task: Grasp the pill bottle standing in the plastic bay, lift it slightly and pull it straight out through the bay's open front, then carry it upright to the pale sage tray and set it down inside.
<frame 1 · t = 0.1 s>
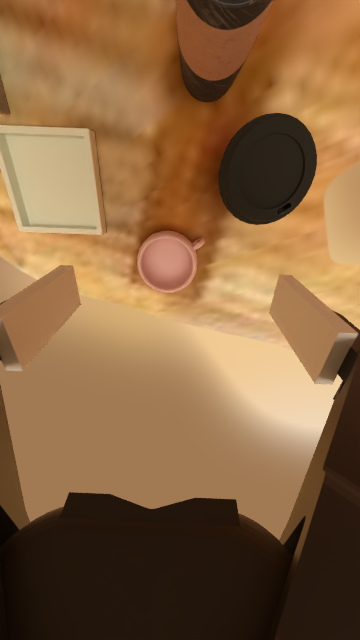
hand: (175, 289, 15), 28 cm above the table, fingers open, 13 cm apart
mug: (173, 253, 42), on the table
travel mug: (208, 66, 30), on the table
tray: (58, 185, 37), on the table
coffee cup: (240, 177, 36), on the table
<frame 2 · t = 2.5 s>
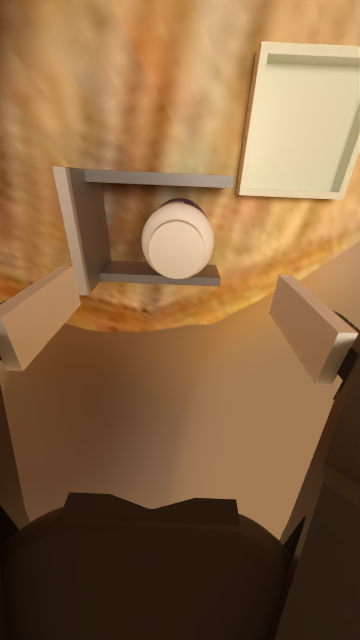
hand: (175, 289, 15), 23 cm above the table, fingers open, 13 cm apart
pill bottle: (179, 227, 35), on the table
tray: (298, 134, 29), on the table
bay: (159, 226, 35), on the table
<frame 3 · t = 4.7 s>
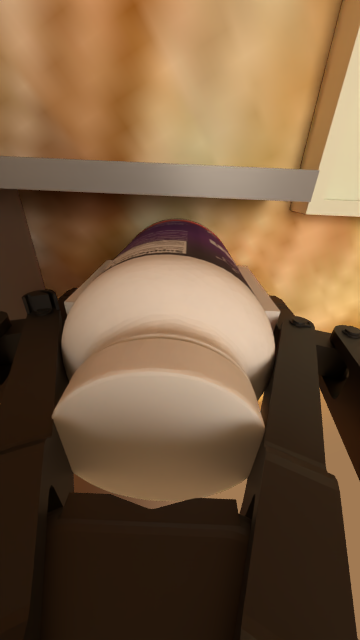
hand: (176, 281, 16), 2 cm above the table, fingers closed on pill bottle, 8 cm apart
pill bottle: (177, 270, 19), on the table, touching gripper
bay: (138, 269, 18), on the table
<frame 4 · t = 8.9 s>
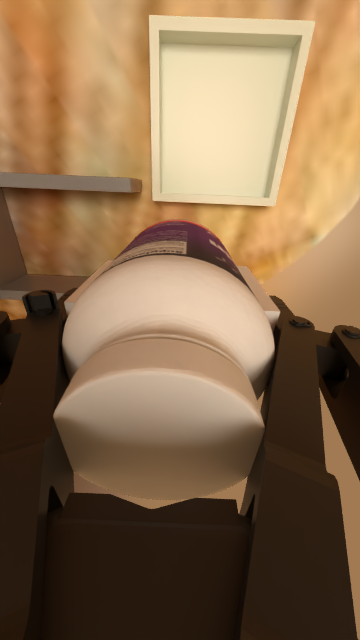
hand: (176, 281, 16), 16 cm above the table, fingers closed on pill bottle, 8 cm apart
pill bottle: (177, 270, 19), point 13 cm above the table, touching gripper
tray: (218, 130, 24), on the table
bay: (74, 236, 30), on the table
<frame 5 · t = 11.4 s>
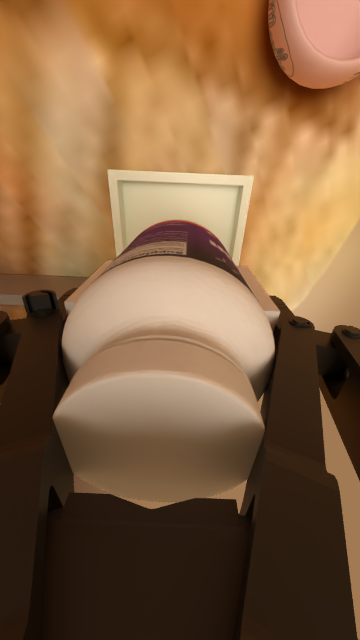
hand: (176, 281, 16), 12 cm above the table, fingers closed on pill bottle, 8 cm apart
mug: (315, 1, 18), on the table
pill bottle: (177, 270, 19), point 10 cm above the table, touching gripper
tray: (178, 242, 27), on the table
bay: (52, 320, 33), on the table
when the fingers open (4 cm above the table, at t = 13.3 s): pill bottle drops 1 cm, resting on tray.
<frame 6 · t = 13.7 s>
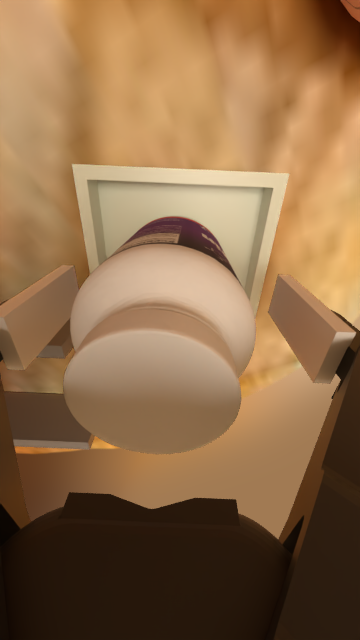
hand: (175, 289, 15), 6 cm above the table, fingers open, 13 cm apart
pill bottle: (175, 264, 20), resting on tray
tray: (178, 263, 20), on the table
bay: (18, 358, 26), on the table
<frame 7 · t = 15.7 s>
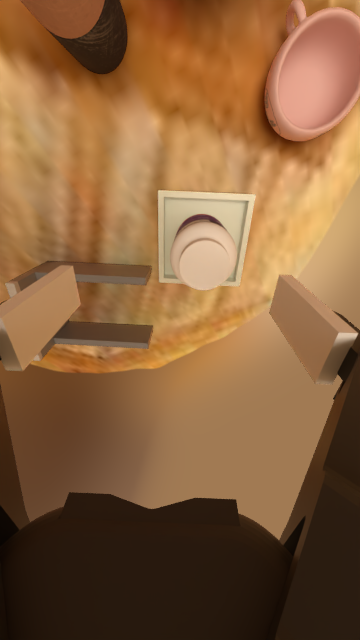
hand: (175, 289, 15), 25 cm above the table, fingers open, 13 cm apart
mug: (295, 87, 29), on the table
travel mug: (97, 32, 27), on the table
pill bottle: (200, 239, 37), resting on tray
tray: (201, 239, 38), on the table
bay: (104, 298, 44), on the table
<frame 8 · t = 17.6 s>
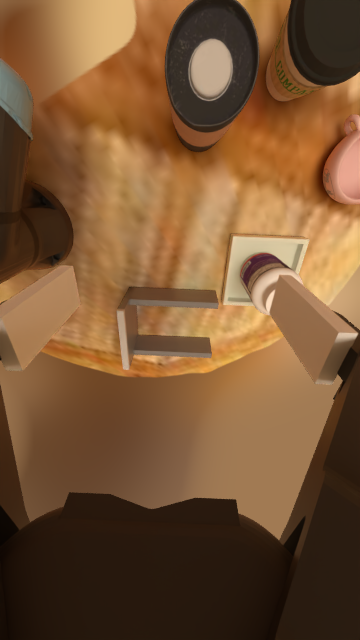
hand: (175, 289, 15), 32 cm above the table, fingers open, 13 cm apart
mug: (344, 162, 38), on the table
travel mug: (199, 123, 36), on the table
pill bottle: (258, 270, 46), resting on tray
tray: (259, 270, 47), on the table
coffee cup: (287, 72, 32), on the table
bay: (171, 316, 53), on the table
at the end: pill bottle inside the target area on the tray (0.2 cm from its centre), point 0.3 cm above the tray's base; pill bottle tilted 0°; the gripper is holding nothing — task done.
